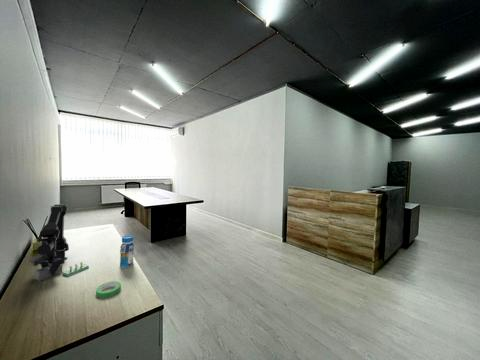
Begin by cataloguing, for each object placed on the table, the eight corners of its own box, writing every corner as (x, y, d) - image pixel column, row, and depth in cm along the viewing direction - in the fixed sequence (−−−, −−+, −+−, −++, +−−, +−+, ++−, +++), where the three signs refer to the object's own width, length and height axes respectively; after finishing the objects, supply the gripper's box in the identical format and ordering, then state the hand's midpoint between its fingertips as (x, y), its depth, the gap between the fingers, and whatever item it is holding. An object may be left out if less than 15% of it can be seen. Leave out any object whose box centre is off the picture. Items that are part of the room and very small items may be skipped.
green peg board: (62, 274, 119) (62, 267, 119) (83, 266, 131) (83, 259, 131) (67, 276, 118) (67, 269, 118) (88, 267, 129) (88, 261, 129)
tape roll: (102, 300, 98) (102, 295, 98) (92, 292, 104) (92, 288, 104) (124, 290, 107) (124, 285, 107) (114, 283, 113) (114, 279, 113)
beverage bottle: (118, 264, 135) (119, 236, 135) (132, 261, 141) (133, 234, 140) (120, 269, 129) (121, 239, 128) (134, 266, 134) (135, 237, 134)
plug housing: (34, 279, 113) (34, 270, 113) (57, 270, 124) (57, 262, 123) (39, 281, 111) (39, 272, 111) (62, 272, 122) (62, 264, 122)
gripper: (22, 250, 113) (21, 276, 113) (41, 256, 106) (40, 284, 107) (46, 244, 123) (46, 268, 124) (65, 249, 117) (64, 274, 117)
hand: (48, 273), depth 117 cm, fingers open, 8 cm apart
